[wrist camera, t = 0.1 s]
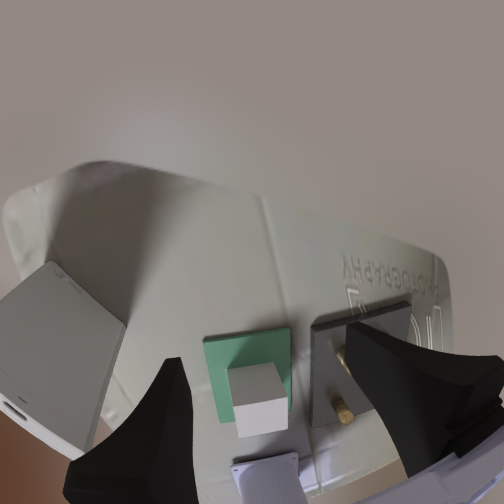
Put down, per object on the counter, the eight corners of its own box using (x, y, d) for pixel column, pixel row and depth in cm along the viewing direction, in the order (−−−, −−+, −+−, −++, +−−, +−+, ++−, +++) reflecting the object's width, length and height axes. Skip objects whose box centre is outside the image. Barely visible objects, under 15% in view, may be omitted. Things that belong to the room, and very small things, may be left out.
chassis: (387, 396, 30) (402, 414, 26) (309, 422, 28) (319, 445, 25) (406, 301, 26) (428, 317, 22) (310, 326, 24) (326, 349, 21)
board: (288, 405, 27) (303, 443, 22) (219, 417, 26) (225, 458, 21) (287, 324, 24) (308, 362, 19) (202, 337, 23) (205, 379, 18)
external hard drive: (51, 256, 19) (-48, 344, 7) (129, 326, 21) (92, 456, 10) (41, 271, 19) (-52, 361, 7) (117, 338, 22) (79, 465, 10)
